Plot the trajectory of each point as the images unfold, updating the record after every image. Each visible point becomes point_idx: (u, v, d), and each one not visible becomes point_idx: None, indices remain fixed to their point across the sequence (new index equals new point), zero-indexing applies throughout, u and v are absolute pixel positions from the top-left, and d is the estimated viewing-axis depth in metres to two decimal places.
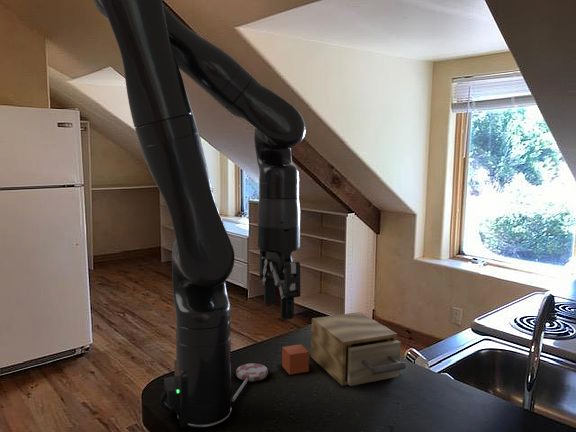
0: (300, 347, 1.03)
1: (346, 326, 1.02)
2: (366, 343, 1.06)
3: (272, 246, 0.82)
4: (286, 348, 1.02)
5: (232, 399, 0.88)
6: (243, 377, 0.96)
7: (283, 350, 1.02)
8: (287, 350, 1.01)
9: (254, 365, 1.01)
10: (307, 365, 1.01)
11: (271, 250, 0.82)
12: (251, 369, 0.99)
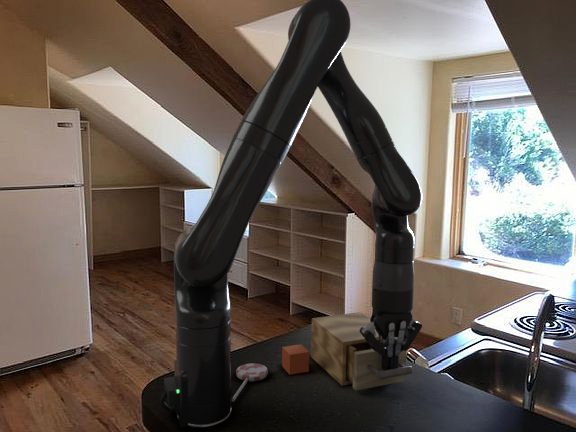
0: (300, 347, 1.03)
1: (346, 326, 1.02)
2: None
3: None
4: (286, 348, 1.02)
5: (232, 399, 0.88)
6: (243, 377, 0.96)
7: (283, 350, 1.02)
8: (287, 350, 1.01)
9: (254, 365, 1.01)
10: (307, 365, 1.01)
11: None
12: (251, 369, 0.99)
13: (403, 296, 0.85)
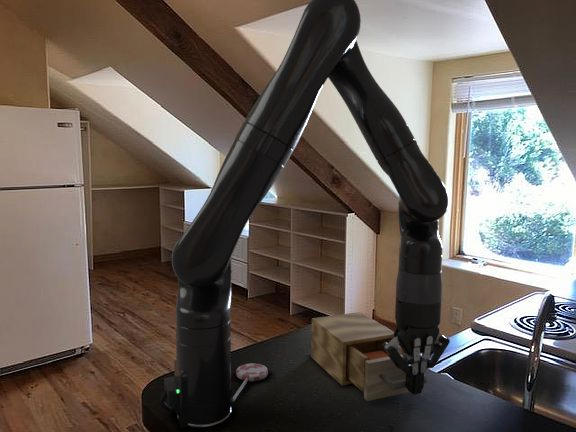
0: (382, 353, 0.95)
1: (346, 326, 1.02)
2: None
3: None
4: (368, 355, 0.94)
5: (232, 399, 0.88)
6: (243, 377, 0.96)
7: None
8: (370, 357, 0.93)
9: (254, 365, 1.01)
10: None
11: None
12: (251, 369, 0.99)
13: (430, 309, 0.78)
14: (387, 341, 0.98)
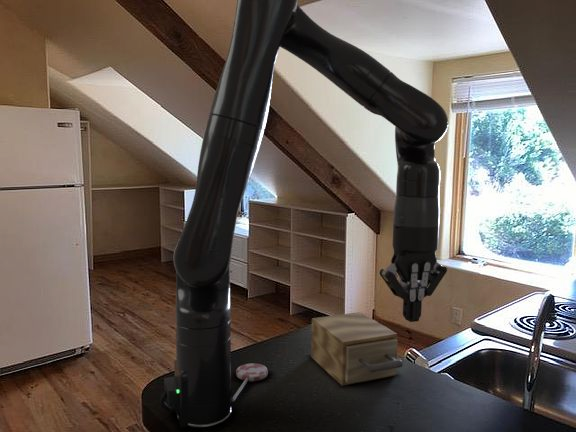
0: None
1: (346, 326, 1.02)
2: None
3: None
4: None
5: (232, 399, 0.88)
6: (243, 377, 0.96)
7: None
8: None
9: (254, 365, 1.01)
10: None
11: None
12: (251, 369, 0.99)
13: (428, 233, 0.78)
14: None
